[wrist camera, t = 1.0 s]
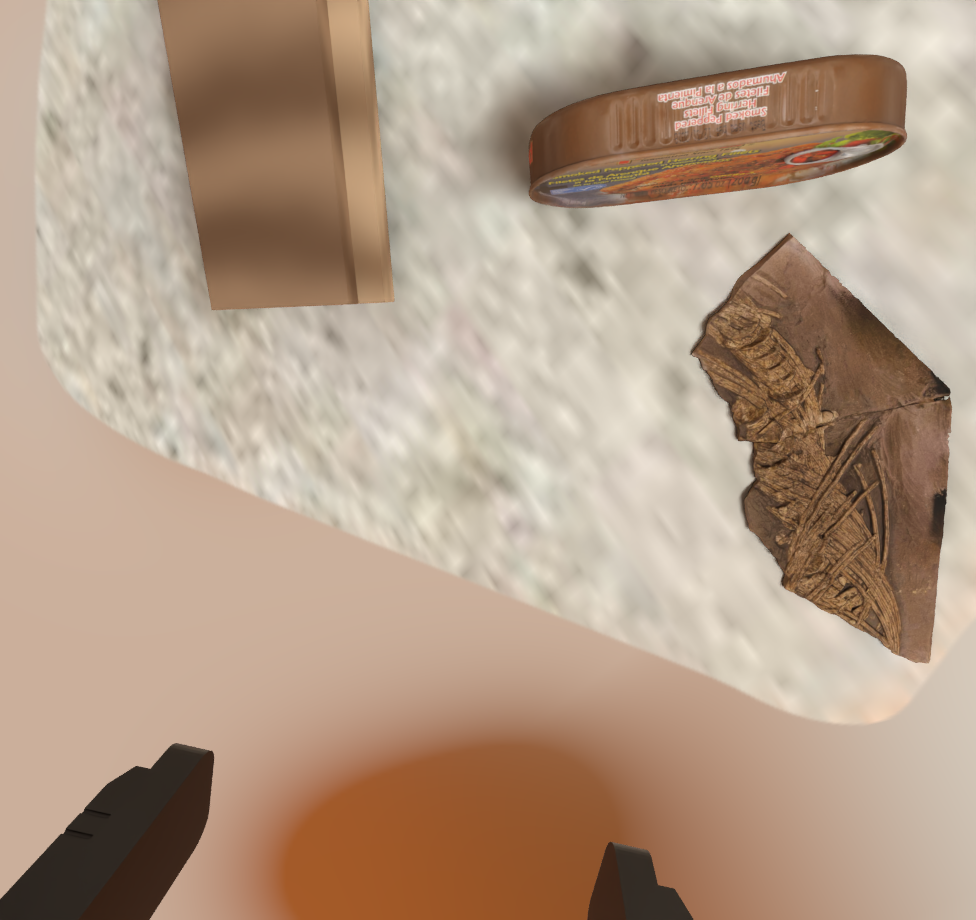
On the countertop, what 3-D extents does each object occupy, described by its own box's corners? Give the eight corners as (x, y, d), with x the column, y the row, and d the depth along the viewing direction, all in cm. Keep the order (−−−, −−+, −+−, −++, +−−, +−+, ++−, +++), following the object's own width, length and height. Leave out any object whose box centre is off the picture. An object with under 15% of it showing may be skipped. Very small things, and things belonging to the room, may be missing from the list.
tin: (539, 215, 31) (517, 191, 23) (535, 149, 30) (511, 101, 22) (852, 178, 28) (952, 135, 20) (858, 103, 27) (965, 28, 19)
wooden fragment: (669, 282, 31) (671, 282, 30) (897, 190, 28) (908, 187, 27) (798, 682, 36) (803, 693, 35) (1001, 641, 33) (1014, 653, 32)
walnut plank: (191, -97, 29) (131, -153, 26) (365, -132, 28) (328, -197, 24) (253, 307, 35) (211, 310, 31) (401, 300, 33) (375, 303, 30)
